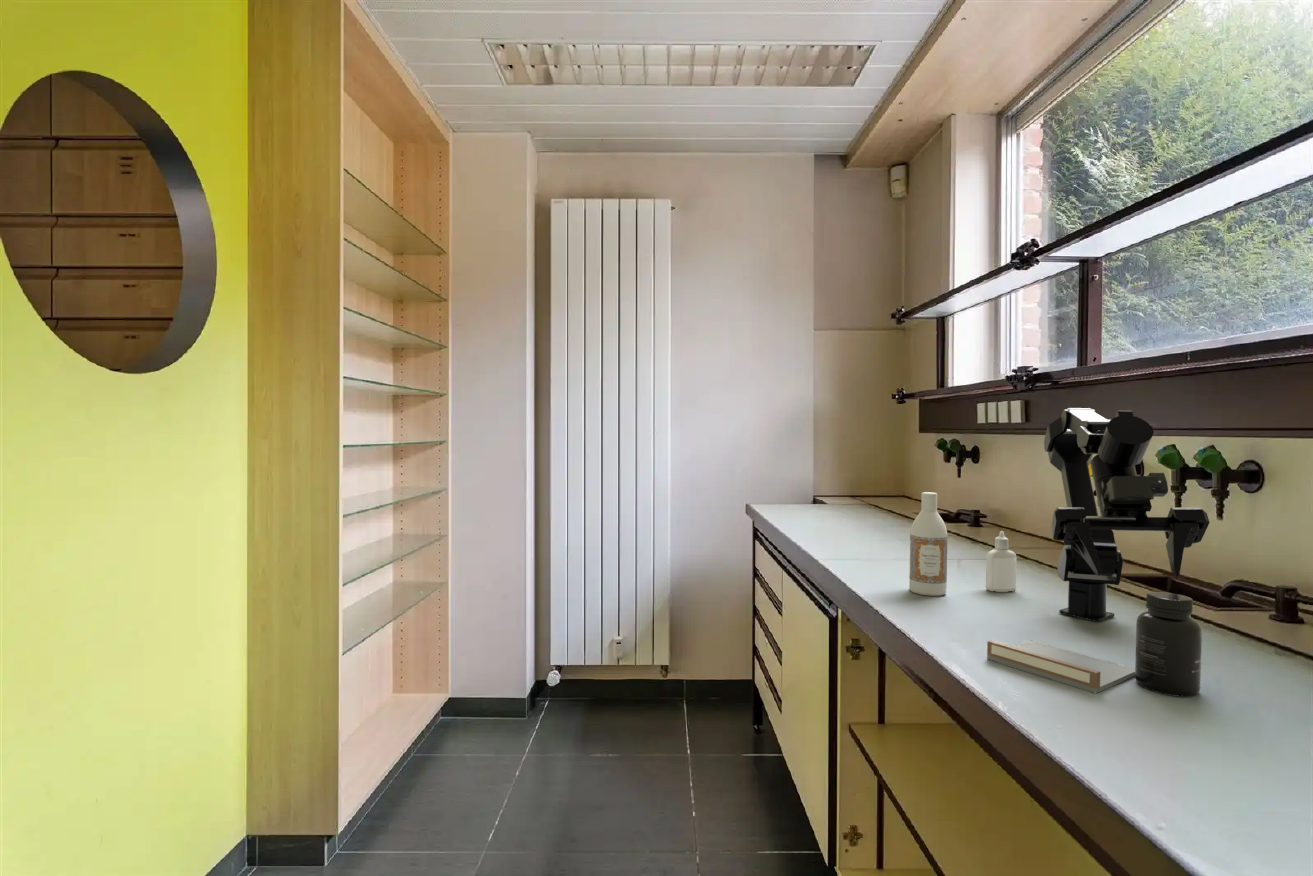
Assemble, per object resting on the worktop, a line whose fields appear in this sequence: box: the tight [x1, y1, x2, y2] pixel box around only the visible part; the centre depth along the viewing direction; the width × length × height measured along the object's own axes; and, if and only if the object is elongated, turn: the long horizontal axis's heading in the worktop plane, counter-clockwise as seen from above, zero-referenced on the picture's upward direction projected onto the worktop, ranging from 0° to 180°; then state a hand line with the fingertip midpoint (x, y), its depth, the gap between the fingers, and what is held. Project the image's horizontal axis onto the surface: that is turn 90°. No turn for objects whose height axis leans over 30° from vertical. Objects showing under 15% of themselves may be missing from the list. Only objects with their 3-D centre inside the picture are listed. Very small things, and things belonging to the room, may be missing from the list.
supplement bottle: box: [1134, 591, 1203, 697], centre depth 88 cm, size 7×7×12 cm
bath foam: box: [908, 491, 948, 597], centre depth 135 cm, size 7×7×20 cm
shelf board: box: [986, 639, 1135, 694], centre depth 95 cm, size 12×14×3 cm
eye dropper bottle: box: [985, 530, 1017, 593], centre depth 137 cm, size 4×6×12 cm
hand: (1137, 575), depth 96 cm, fingers open, 9 cm apart
